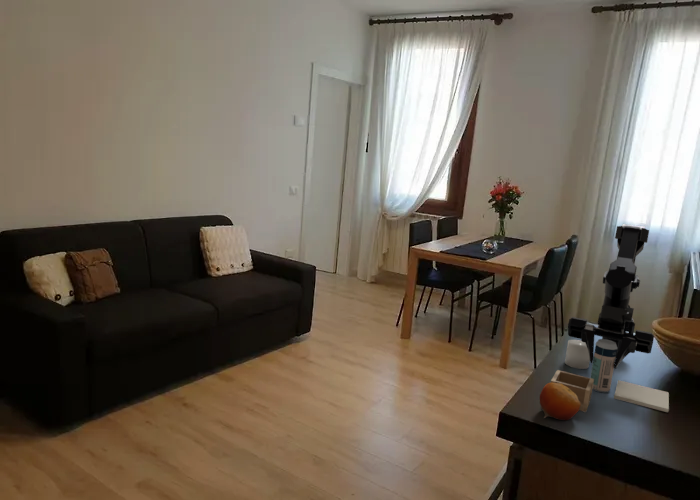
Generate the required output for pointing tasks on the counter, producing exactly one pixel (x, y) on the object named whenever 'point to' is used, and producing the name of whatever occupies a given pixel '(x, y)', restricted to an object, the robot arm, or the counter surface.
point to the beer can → (603, 364)
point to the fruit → (559, 401)
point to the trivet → (642, 396)
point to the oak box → (576, 386)
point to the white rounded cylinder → (577, 354)
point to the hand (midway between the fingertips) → (602, 365)
